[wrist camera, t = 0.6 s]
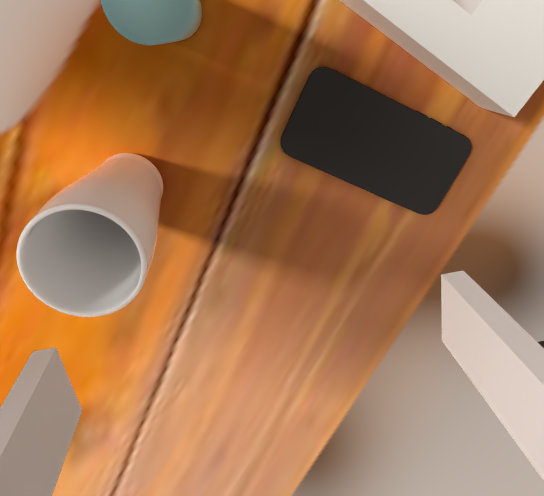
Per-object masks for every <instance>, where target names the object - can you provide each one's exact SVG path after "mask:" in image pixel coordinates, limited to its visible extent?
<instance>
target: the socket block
mask: <svg viewBox="0 0 544 496" xmlns="http://www.w3.org/2000/svg"><path fill="white" fill-rule="evenodd" d="M339 1H341V2H342V3H343V4H345V5H346V6H347V7H349V8H350V9H351V10H353V11H354V12H355V13H357V14H358V15H359V16H360V17H362V18H363V19H364V20H366V21H367V22H368V23H370V24H371V25H372V26H374V27H375V28H376V29H378V30H379V31H380V32H382V33H383V34H384V35H385V36H387V37H388V38H389V39H391V40H392V41H393V42H395V43H396V44H397V45H399V46H400V47H401V48H403V49H404V50H405V51H407V52H408V53H409V54H410V55H412V56H413V57H414V58H416V59H417V60H418V61H420V62H421V63H422V64H424V65H425V66H426V67H428V68H429V69H430V70H431V71H433V72H434V73H435V74H437V75H438V76H439V77H441V78H442V79H443V80H445V81H446V82H447V83H449V84H450V85H451V86H453V87H454V88H455V89H456V90H458V91H459V92H460V93H462V94H463V95H464V96H466V97H467V98H468V99H470V100H471V101H472V102H474V103H475V104H476V105H477V106H479V107H480V108H483V109H487V110H490V111H494V112H497V113H501V114H504V115H508V116H511V117H515V116H516V115H517V113H518V112H519V111H520V110H521V108H522V107H523V106H524V105H525V103H526V102H527V101H528V99H529V98H530V97H531V96H532V94H533V93H534V92H535V91H536V89H537V88H538V87H539V85H540V84H541V83H542V82H543V80H544V0H339Z"/></svg>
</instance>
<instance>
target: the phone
mask: <svg viewBox="0 0 544 496" xmlns="http://www.w3.org/2000/svg"><path fill="white" fill-rule="evenodd" d="M281 147H282V149H283V151H284V152H285V153H286V154H287V155H289V156H290V157H293V158H295V159H297V160H299V161H301V162H304V163H306V164H308V165H310V166H313V167H315V168H317V169H319V170H322V171H324V172H326V173H329V174H331V175H333V176H335V177H338V178H340V179H342V180H344V181H347V182H349V183H351V184H353V185H356V186H358V187H360V188H362V189H365V190H367V191H369V192H371V193H374V194H375V195H378V196H380V197H382V198H384V199H387V200H389V201H391V202H394V203H396V204H398V205H401V206H403V207H405V208H407V209H410V210H412V211H414V212H417V213H419V214H424V215H425V214H430V213H432V212H433V211H434V210H435V209H436V208H437V207H438V206H439V204H440V202H441V201H442V199H443V197H444V196H445V194H446V192H447V191H448V189H449V188H450V186H451V184H452V183H453V181H454V179H455V178H456V176H457V174H458V173H459V171H460V169H461V168H462V166H463V164H464V163H465V161H466V159H467V158H468V156H469V154H470V151H471V142H470V141H469V139H468V138H467V137H465V136H464V135H462V134H460V133H458V132H456V131H454V130H452V128H450V127H448V126H447V127H446V126H444V125H442V123H440V122H438V121H436V120H434V119H432V118H428V117H427V116H426V115H424V114H422V113H420V112H418V111H416V110H415V111H414V110H412V109H410V108H408V107H406V106H404V105H402V104H400V103H398V102H396V101H394V100H392V99H390V98H388V97H386V96H384V95H382V94H380V93H378V92H376V91H374V90H372V89H370V88H368V87H366V86H365V85H363V84H361V83H359V82H357V81H355V80H353V79H351V78H349V77H347V76H345V75H343V74H341V73H339V72H337V71H335V70H332V69H330V68H327V67H319V68H317V69H315V70H314V71H313V72H312V73H311V74H310V76H309V78H308V80H307V82H306V84H305V86H304V89H303V91H302V93H301V95H300V97H299V99H298V102H297V104H296V106H295V108H294V110H293V112H292V115H291V117H290V119H289V121H288V123H287V126H286V128H285V130H284V132H283V135H282V137H281Z"/></svg>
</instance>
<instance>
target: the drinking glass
mask: <svg viewBox="0 0 544 496" xmlns="http://www.w3.org/2000/svg"><path fill="white" fill-rule="evenodd" d="M162 196H163V181H162V177H161V175H160V173H159V171H158V169H157V168H156V167H155V166H154V165H153V164H152V163H151V162H150V161H149V160H147V159H146V158H144V157H142V156H140V155H137V154H133V153H120V154H116V155H113V156H111V157H109V158H107V159H106V160H105V161H103V162H102V163H101V164H100V165H99V166H98V167H96V168H95V169H93V170H92V171H90V172H89V173H87V174H85V175H84V176H82V177H81V178H79V179H77V180H76V181H74V182H73V183H71V184H69V185H68V186H66V187H65V188H63V189H62V190H61V191H59V192H58V193H57V194H56V195H54V196H53V197H52V198H51V199H50V200H49V201H48V202H47V203H46V204H45V205H44V206H43V207H42V208H41V209H40V210H39V211H38V212H37V213H36V214H35V216H34V217H33V218H32V219H31V221H30V222H29V223H28V224H27V225H26V226H25V228H24V230H23V231H22V233H21V235H20V238H19V241H18V245H17V253H16V255H17V265H18V269H19V272H20V274H21V277H22V279H23V281H24V282H25V284H26V286H27V287H28V288H29V290H30V291H31V292H32V293H33V294H34V295H35V296H36V297H37V298H38V299H39V300H41V301H42V302H43V303H45V304H46V305H48V306H49V307H51V308H53V309H55V310H57V311H60V312H63V313H65V314H69V315H73V316H80V317H97V316H103V315H107V314H110V313H113V312H115V311H118V310H119V309H121V308H123V307H124V306H126V305H127V304H129V303H130V302H131V301H132V300H133V299H134V298H135V297H136V296H137V294H138V293H139V291H140V290H141V288H142V286H143V284H144V281H145V279H146V276H147V274H148V272H149V269H150V266H151V263H152V260H153V257H154V253H155V249H156V243H157V236H158V224H159V212H160V203H161V199H162Z"/></svg>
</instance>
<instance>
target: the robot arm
mask: <svg viewBox="0 0 544 496" xmlns="http://www.w3.org/2000/svg"><path fill="white" fill-rule="evenodd" d="M441 298H442V299H441V301H442V303H441V304H442V342H443V343H444V345H445V346H446V347H447V349H448V350H449V351H450V353H451V354H452V356H453V357H454V358H455V359H456V361H457V362H458V364H459V365H460V366H461V368H462V369H463V370H464V372H465V373H466V375H467V376H468V377H469V379H470V380H471V382H472V383H473V384H474V386H475V387H476V388H477V390H478V391H479V393H480V394H481V395H482V396H483V398H484V399H485V401H486V402H487V403H488V405H489V406H490V408H491V409H492V410H493V412H494V413H495V415H496V416H497V417H498V419H499V420H500V421H501V423H502V424H503V426H504V427H505V428H506V430H507V431H508V432H509V434H510V435H511V436H512V438H513V439H514V440H515V442H516V443H517V445H518V446H519V448H520V449H521V450H522V451H523V453H524V454H525V456H526V457H527V458H528V460H529V461H530V462H531V464H532V465H533V467H534V468H535V469H536V471H537V472H538V473H539V475H540V476H541V478H542V479H543V480H544V341H541V342H536V341H535V340H534V339H533V338H532V337H531V336H530V335H529V334H528V333H527V332H526V331H525V330H524V329H523V328H522V327H521V326H520V325H519V324H518V323H517V322H516V321H515V320H514V319H513V318H512V317H511V316H510V315H509V314H508V313H507V312H506V311H505V310H504V309H503V308H501V307H500V306H499V305H498V304H497V303H496V302H495V301H494V300H493V299H492V298H491V297H490V296H489V295H488V294H487V293H486V292H485V291H484V290H483V289H482V288H481V287H480V286H479V285H478V284H477V283H476V282H474V280H473V279H472V278H470V277H469V276H468V275H467V274H466V273H465V272H464V271H458V272H452V273H447V274H442V275H441ZM81 412H82V408H81V406H80V404H79V401H78V399H77V396H76V394H75V392H74V389H73V387H72V385H71V382H70V380H69V377H68V375H67V373H66V370H65V368H64V365H63V363H62V361H61V358H60V356H59V354H58V351H57V349H56V347H55V348H50V349H45V350H39V351H34V352H32V354H31V356H30V357H29V359H28V361H27V363H26V364H25V366H24V368H23V370H22V371H21V373H20V375H19V377H18V378H17V380H16V382H15V384H14V385H13V387H12V389H11V391H10V392H9V394H8V396H7V398H6V399H5V401H4V403H3V405H2V406H1V408H0V496H52V494H53V491H54V489H55V486H56V483H57V480H58V477H59V475H60V472H61V469H62V466H63V463H64V460H65V458H66V455H67V452H68V449H69V446H70V443H71V441H72V438H73V435H74V432H75V429H76V427H77V424H78V421H79V418H80V415H81Z"/></svg>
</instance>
